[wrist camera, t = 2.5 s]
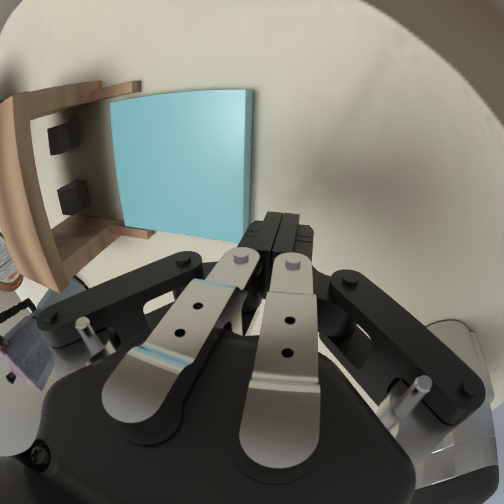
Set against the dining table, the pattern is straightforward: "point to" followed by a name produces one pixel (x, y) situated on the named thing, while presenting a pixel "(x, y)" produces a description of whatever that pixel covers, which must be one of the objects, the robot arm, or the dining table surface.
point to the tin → (8, 269)
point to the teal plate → (185, 162)
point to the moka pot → (32, 339)
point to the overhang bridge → (70, 196)
